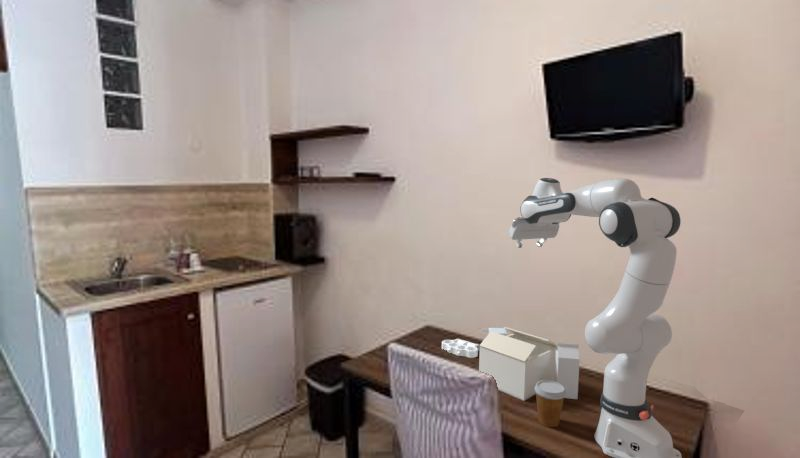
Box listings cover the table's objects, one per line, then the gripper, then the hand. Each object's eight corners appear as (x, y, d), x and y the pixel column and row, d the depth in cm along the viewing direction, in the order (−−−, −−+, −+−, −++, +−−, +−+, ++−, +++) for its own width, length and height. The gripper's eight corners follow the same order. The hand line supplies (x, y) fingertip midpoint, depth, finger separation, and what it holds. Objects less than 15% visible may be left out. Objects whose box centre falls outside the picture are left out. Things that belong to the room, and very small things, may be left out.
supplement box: (504, 355, 198) (505, 327, 197) (506, 362, 191) (507, 333, 189) (487, 354, 199) (488, 327, 197) (489, 361, 192) (490, 332, 190)
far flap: (557, 347, 171) (558, 345, 171) (548, 341, 166) (548, 339, 166) (513, 333, 185) (513, 332, 185) (503, 327, 180) (504, 326, 180)
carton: (556, 382, 172) (557, 347, 170) (523, 400, 157) (525, 362, 156) (511, 366, 187) (513, 333, 185) (478, 381, 172) (479, 346, 171)
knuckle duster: (486, 351, 203) (469, 361, 192) (453, 342, 215) (435, 350, 204) (486, 344, 203) (469, 354, 192) (453, 335, 214) (435, 343, 203)
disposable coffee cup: (540, 411, 151) (541, 377, 149) (568, 421, 144) (570, 385, 143) (528, 423, 143) (529, 387, 142) (557, 433, 137) (559, 396, 136)
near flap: (536, 346, 160) (536, 345, 160) (525, 362, 156) (524, 361, 156) (491, 332, 175) (490, 331, 175) (479, 346, 171) (479, 345, 170)
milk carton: (577, 399, 159) (580, 348, 157) (556, 397, 160) (559, 346, 158) (573, 390, 166) (576, 341, 164) (553, 388, 167) (556, 339, 165)
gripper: (518, 221, 168) (509, 252, 175) (564, 219, 174) (554, 249, 181) (510, 213, 173) (502, 243, 180) (555, 212, 179) (546, 241, 186)
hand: (528, 246), depth 180 cm, fingers open, 8 cm apart
